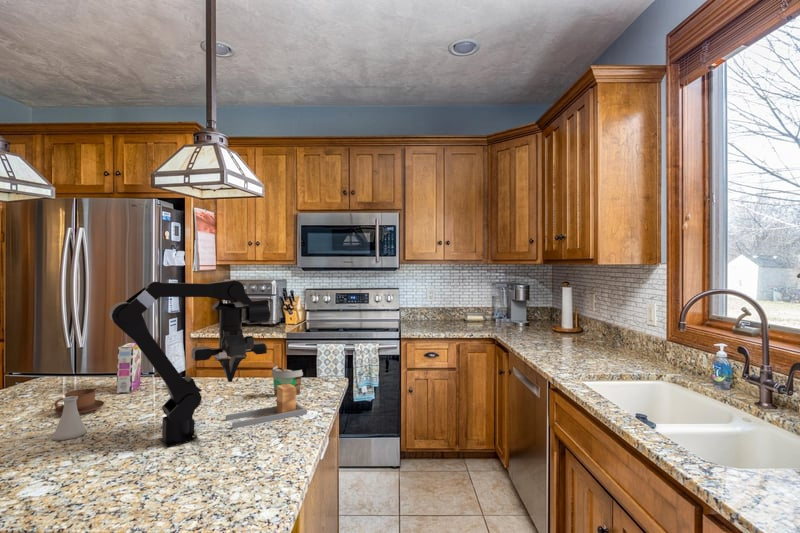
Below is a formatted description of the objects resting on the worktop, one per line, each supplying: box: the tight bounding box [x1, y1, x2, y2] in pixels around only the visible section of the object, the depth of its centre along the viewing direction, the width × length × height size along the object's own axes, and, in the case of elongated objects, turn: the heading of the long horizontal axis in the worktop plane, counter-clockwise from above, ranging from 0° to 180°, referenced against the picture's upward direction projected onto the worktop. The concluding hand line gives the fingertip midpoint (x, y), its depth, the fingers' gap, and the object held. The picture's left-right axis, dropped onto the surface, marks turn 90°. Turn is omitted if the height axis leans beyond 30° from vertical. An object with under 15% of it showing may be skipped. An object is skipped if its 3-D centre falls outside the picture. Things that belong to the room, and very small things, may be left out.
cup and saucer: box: [54, 388, 105, 416], centre depth 128 cm, size 12×12×6 cm
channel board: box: [225, 402, 308, 430], centre depth 121 cm, size 21×9×3 cm, turn 125°
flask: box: [51, 396, 87, 441], centre depth 109 cm, size 7×7×10 cm
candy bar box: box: [115, 342, 142, 395], centre depth 152 cm, size 11×5×16 cm, turn 17°
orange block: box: [276, 384, 297, 414], centre depth 124 cm, size 4×5×8 cm
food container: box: [270, 365, 304, 396], centre depth 144 cm, size 12×6×10 cm, turn 62°
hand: (229, 381), depth 115 cm, fingers closed
